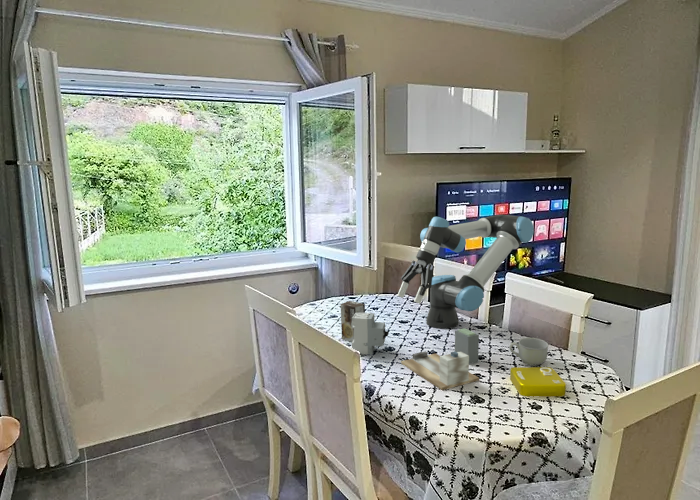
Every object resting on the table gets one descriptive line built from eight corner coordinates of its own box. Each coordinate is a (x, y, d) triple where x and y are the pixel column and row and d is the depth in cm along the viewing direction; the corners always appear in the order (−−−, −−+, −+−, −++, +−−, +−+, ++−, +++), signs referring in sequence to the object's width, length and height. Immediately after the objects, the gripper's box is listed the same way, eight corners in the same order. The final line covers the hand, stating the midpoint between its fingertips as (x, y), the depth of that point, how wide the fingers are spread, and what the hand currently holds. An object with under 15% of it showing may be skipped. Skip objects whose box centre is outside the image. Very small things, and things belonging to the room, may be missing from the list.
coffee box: (366, 339, 222) (365, 303, 219) (356, 343, 218) (355, 307, 215) (350, 335, 228) (350, 300, 226) (340, 338, 224) (340, 303, 221)
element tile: (508, 378, 182) (508, 365, 181) (551, 378, 181) (551, 365, 180) (521, 397, 167) (521, 384, 166) (567, 397, 166) (568, 383, 165)
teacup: (547, 358, 197) (547, 338, 196) (548, 369, 187) (549, 348, 186) (509, 354, 202) (510, 335, 200) (508, 365, 192) (509, 345, 190)
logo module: (464, 355, 202) (465, 327, 200) (478, 362, 195) (478, 333, 193) (454, 357, 200) (455, 329, 198) (467, 364, 193) (468, 335, 191)
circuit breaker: (387, 355, 204) (386, 319, 201) (352, 353, 207) (351, 318, 204) (389, 348, 211) (389, 313, 208) (355, 346, 214) (354, 312, 211)
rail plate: (435, 355, 202) (435, 328, 200) (479, 380, 179) (479, 350, 177) (401, 363, 196) (401, 335, 194) (441, 390, 173) (442, 359, 171)
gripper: (405, 246, 223) (386, 291, 221) (437, 251, 200) (417, 301, 198) (418, 253, 226) (400, 297, 224) (452, 259, 203) (431, 308, 201)
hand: (408, 299), depth 211 cm, fingers open, 13 cm apart
